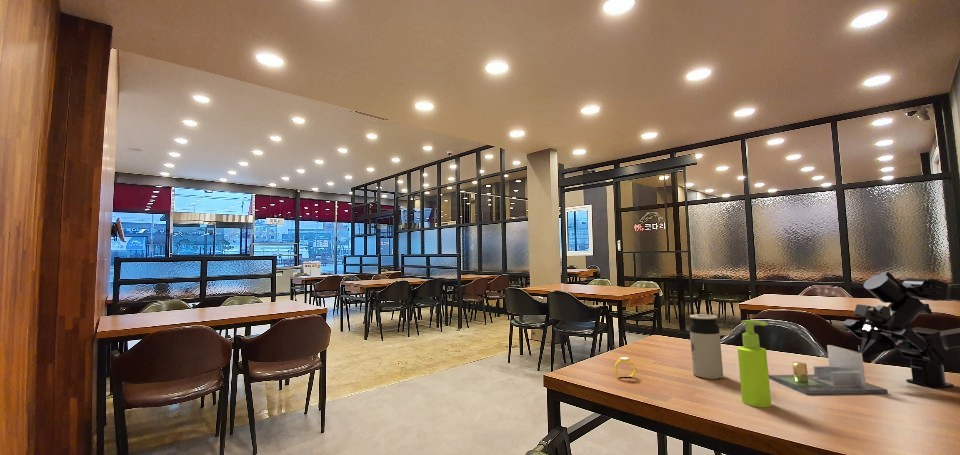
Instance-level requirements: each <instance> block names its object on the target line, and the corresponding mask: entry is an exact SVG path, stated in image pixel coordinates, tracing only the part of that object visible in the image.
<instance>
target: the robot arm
mask: <svg viewBox="0 0 960 455" xmlns="http://www.w3.org/2000/svg"><path fill="white" fill-rule="evenodd" d="M863 288H865V290H867V291H868V292H870V293H871V294H872V295H873V296H874V297H875V298H876V299H878V300H879V301H880V302H882V303H883V304H888V305H887V306H886V305H882V304H881V305H880V304H878V305H876V306H872V305H865V304H859V303H858V304H856V306H855V309H854V311H853V314H852V315H853V316H856V317H860V318H862V319H864V320H865V322H866V324H865V323H864V322H863V321H862V320H857V319H852V318H851V319H848V318H847V319H846V320H844V322H843V323H842V326H844V328H845V329H847V330H848V331H849V332H850V333H851V334H853V336H855V337H856V338H858V339H861V345H860V349H859V352H860V353H862V357H863V359H865V358H869V357H871V356H875V355H878V354H881V353H884V352H888V351H891V350H898V351H899V354H900V356H901V357H902V358H907V359H910V370H911V378H908V379H905V381H906V382H907V383H912V384H915V385H920V386H925V387H930V388H934V389H940V388H947V387H948V388H949V387H954V386H955V385H954V383H950V382H946V376H945V375H946V374H945V368H944V367H945V366H949V365H953V364H954V361H955V356H954V355H953V354H952V353H951V352H949V351H948V350H949V349H953V348H958V347H960V327H957V328H950V329H946V330H938V329H932V328H925V327H919V326H917V327H916V326H915V325H914V324H913V323H912V322H914V320H915V319H916V318H917V317H918V316H919V314H924V315H925V314H926V315H932V314H933V312H932V309H931V307H930V304H929V303H924V302H922V301H921V300H926V301H927V300H928V301H950V302H957V303H960V287H958V286H953V285H950V284H949V283H948V282H945V281H942V280H939V279H937V278H936V279H935V278H921V277H919V278H918V277H917V278H915V277H907V278H905V280H904V281H902V282H900V281H899V280H898V279H897V278H895V277H894V275H893V274H892V273H890V272H889V271H881V272H880V273H879V274H877V275H874V276H872V277H871V278H868V279H866V280H865V282H863Z"/></svg>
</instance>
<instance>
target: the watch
mask: <svg viewBox="0 0 960 455" xmlns="http://www.w3.org/2000/svg"><path fill="white" fill-rule="evenodd" d="M621 362H630V363H631V364H632V366H633V371H632V373H631V374H630V375H629V376H631V377H632V378H633V377H635V376H636V373H637V368H636V365H635V364H634V362H633V361H632V360H631V359H630V358H629V357H627V356H626V357H625V356H623V357H622V356H621V357H619V359H618V360H616V361H615V364H614V371H615V373H616V375H617V376H618V377H619V376H620V375H621V374H619V372H618V370H617V368H618V364H619V363H621Z"/></svg>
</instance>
